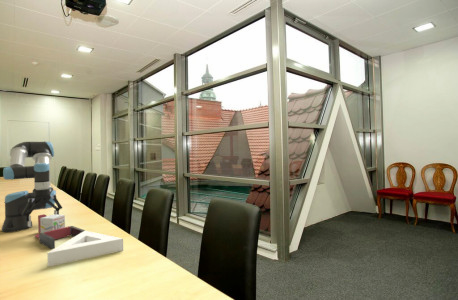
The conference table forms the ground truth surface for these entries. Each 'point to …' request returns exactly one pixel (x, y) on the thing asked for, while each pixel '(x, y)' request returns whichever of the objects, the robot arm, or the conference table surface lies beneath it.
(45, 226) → the ink box
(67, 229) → the pull frame
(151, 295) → the conference table surface
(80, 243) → the triangle block
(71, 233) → the lane rails
